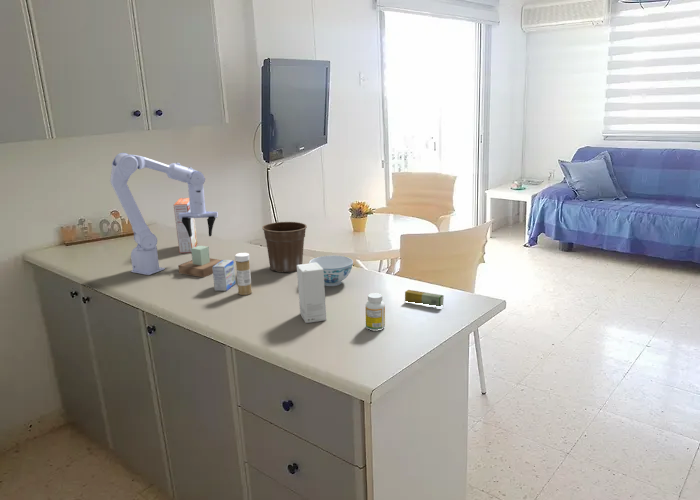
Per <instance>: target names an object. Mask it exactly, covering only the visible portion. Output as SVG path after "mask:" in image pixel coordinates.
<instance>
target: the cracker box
mask: <svg viewBox="0 0 700 500" xmlns="http://www.w3.org/2000/svg"><path fill="white" fill-rule="evenodd" d="M173 211H174V218H175V219H174V220H175V221H174V222H175V229H176V236H177V244H178V251H179V254H187V253H188V254H189V253H190V254H192V251H191V248H194V247H197V246H198V245H197V244H198V238H197V229H196V228H197V227H196V218H191V231H192V236H191V237H189V235H188V232H187V230H186V228H185V226H184V224H183V223H182V219H179V213H186V212H190V202H189V197H180V198H178V199H177V201H176V202H174V204H173Z"/></svg>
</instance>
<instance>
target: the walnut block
mask: <svg viewBox="0 0 700 500" xmlns="http://www.w3.org/2000/svg"><path fill="white" fill-rule="evenodd" d="M222 260H223V259H217V258H212V257H210V262H209V263H207V264H204V265H196V264H193V261H192V259H191V260H188V261H186V262H183V263H181V264H178V265H177V266H178V267H177V268H178V273H179V274H182V275H183V274H184V275H188V276H193V277H200V278H206V277H208V276H211V275H213V268H212V267H213V266H215V265H216V264H217V263H219V262H220V261H222Z"/></svg>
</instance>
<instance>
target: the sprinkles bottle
mask: <svg viewBox="0 0 700 500" xmlns="http://www.w3.org/2000/svg"><path fill="white" fill-rule="evenodd" d="M234 260H235V261H234V262H235V268H236V269H235V270H236V279H237V288H238V289H237V290H238V291H237V293H238V294H239V295H241V296H248V295H251V294H252V293H253V292H252V278H251V266H250V253H248V252H238V253H236V254H235V255H234Z"/></svg>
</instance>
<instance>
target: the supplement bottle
mask: <svg viewBox="0 0 700 500" xmlns="http://www.w3.org/2000/svg"><path fill="white" fill-rule="evenodd" d="M367 300H368V301H367V302H366V303H365V328H366V329H367V328H368V329H371V330H378V329H382V328H384V327H385V324H386V321H385V320H386V316H385V315H386V304H385V302H384V301H383V300H384V299H383V295H382V294H381V293H378V292H371V293H369V294H368V295H367ZM368 329H367V330H368ZM384 329H385V328H384Z"/></svg>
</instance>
